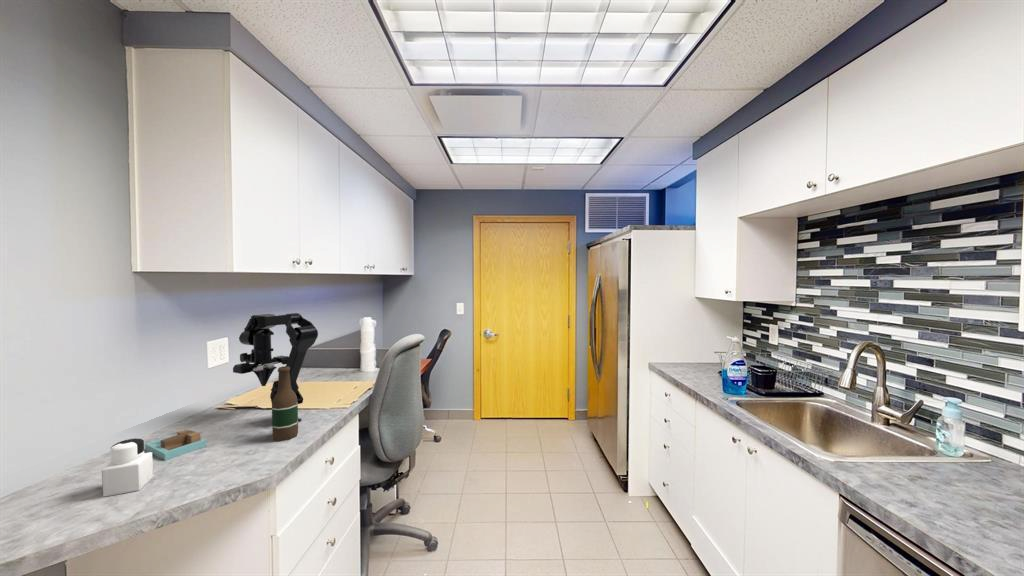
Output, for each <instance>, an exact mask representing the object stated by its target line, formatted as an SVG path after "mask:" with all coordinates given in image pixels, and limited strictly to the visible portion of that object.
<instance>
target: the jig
mask: <svg viewBox="0 0 1024 576" xmlns="http://www.w3.org/2000/svg"><path fill="white" fill-rule="evenodd" d="M176 435H177V434H173V435H172V436H167V437H165V438H161V439H157V440H155V441H150V442H147V443H144V451H146V452H147V453H149V452H152V455H154V456H155V457H157V458H160V459H161V460H163V461H169V460H171V459H173V458H175V457H178V456H179V457H180V456H182V455H185V454H187V453H191V452H193V451H195V450H199V449H202V448H205V447H207V446H208V443H207V442H208V441H207V439H206V438H203V439H201V440H200V441H197V442H194V443H190V444H187V445H184V446H181V447H178V448H175V449H172V450H167V449H165V448H162V447H161V441H160V440H163V439H166V438H169V437H173V436H176Z"/></svg>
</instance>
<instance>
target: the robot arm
mask: <svg viewBox="0 0 1024 576" xmlns="http://www.w3.org/2000/svg"><path fill="white" fill-rule="evenodd" d="M279 325H280V326H281V325H284V326H285V327H286V329H285V333H286V335H287V336H288V338H289V340H288V341H289V343H290V346H291V350H290V352H289V355H288V356H287V355H276V356H274V357H272V355H273V354H272V352H274V348H273V347H272V336H274V335H275V334H274V332H273V331H272V330H271V329H272V328H274V327H276V326H279ZM293 325H297V326H299V327H293ZM318 336H319V331H318V329H317V327H316V326H315V325H314V324H313V323H312V322H311V321H310V320H308V319H306V318H304V317H303V316H302V314H300V313H298V312H294V313H292V312H291V313H286V314H279V315H275V314H274V313H264V314H263V313H262V314H253V315H251V316H250V318H249V320H248V322H247V324H246V326H245V327H244V329H243V331H242V332H241V333H240V335H239V337H238V340H239V341H238V342H240V344H242V345H246V346H253V349H251V351H250V353H249V354H248V352H243V353H240V354H239V361H240V363H237V364H235V365H234V366H233V367H232V373H235V374H238V375H239V374H240V375H242V374H243V375H244V374H248V373H254V374H255V375H256V377H257V379H258V380H259V383H260V386H262V387H266V385H267V384H268V381H269V380H270V378H271V375H272V374H273V372H274V370H275V369H278V368H277V366H275V365H276V364H277V365H278V364H281V365H285V366H288V367H290V370H289V373H290V383H291V388H292V390H293V391H294V392H295V394H296V396H297V402H298V405H301V404H303V402H304V397H303V395H302V394H301V392H300V391H299V390H300V389H299V388H300V387H299V385H298V383H297V380H298V378H299V375H300V371H301V369H302V366H303V363H304V360H305V357H306V354H307V351H308V350H309V349H310V348H311V347H312V346H313V345H314V344H315V343H316V341H317V339H318ZM270 391H271V392H270V395H269V398H270V402H271V403H272V401H273V399H274V396H275V395H276V393H277V391H278V380H274V382H273V383H272V387H271V389H270ZM301 421H302V418H299V417H298V423H299V422H301Z"/></svg>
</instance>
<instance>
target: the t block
mask: <svg viewBox="0 0 1024 576" xmlns="http://www.w3.org/2000/svg"><path fill="white" fill-rule="evenodd" d="M175 435H176V436H174V435H172V436H173V437H170V436H168V437H169V438H167V437H165V438H166V439H164V438H162V439H163V440H160V439H159V440H160V441H161V447H162V448H165V449H167V450H172V449H175V448H178V447H181V446H184V445H187V444H190V443H194V442H197V441H200V440H202V439H201V438H202V437H201V432H197V431H194V430H190V429H183V430H179V431H177V432H176V434H175Z"/></svg>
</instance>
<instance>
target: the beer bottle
mask: <svg viewBox="0 0 1024 576" xmlns="http://www.w3.org/2000/svg"><path fill="white" fill-rule="evenodd" d="M289 370H290V367H288V366H286V365H285V366H279V367H278V368H277V373H278V378H277V379H278V380H277V381H278V391H277V393H276V395H275V396H274V399H273V401H272V402H271V424H272V425H271V426H272V427H271V429H272V431H271V432H272V440H273V441H276V442H283V441H285V442H286V441H290V440H293V439H295V438H297V437H298V433H299V422H298V418H299V411H298V410H299V409H298V407H299V406H298V405H299V404H298V402H297V396H296V394H295V392H294V391H293V390H292V388H291V383H290V373H289Z"/></svg>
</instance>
